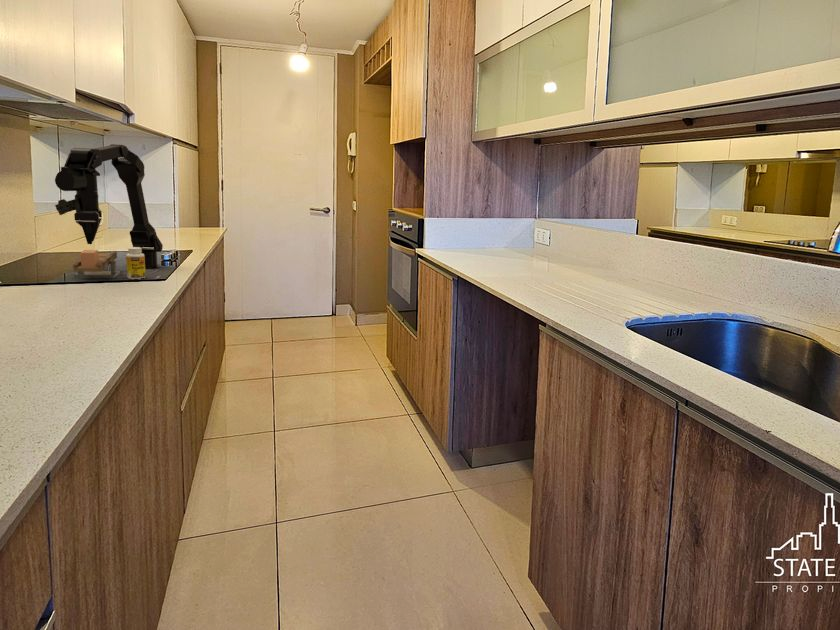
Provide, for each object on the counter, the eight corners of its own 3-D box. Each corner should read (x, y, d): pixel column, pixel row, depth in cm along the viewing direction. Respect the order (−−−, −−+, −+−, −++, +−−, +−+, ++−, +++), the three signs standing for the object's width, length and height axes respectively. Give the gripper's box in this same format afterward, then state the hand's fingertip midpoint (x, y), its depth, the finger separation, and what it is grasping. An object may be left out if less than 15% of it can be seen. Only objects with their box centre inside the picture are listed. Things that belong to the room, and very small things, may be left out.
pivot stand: (81, 273, 200) (79, 259, 199) (119, 273, 203) (118, 259, 202) (74, 277, 192) (72, 262, 191) (114, 277, 195) (113, 262, 194)
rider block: (86, 263, 192) (84, 249, 190) (99, 263, 193) (98, 249, 191) (81, 266, 187) (80, 252, 186) (95, 266, 188) (94, 253, 187)
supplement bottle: (130, 280, 192) (128, 249, 190) (125, 277, 196) (122, 247, 194) (148, 279, 196) (146, 248, 194) (142, 276, 200) (140, 246, 198)
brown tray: (92, 256, 206) (91, 250, 205) (117, 257, 208) (116, 250, 207) (73, 271, 186) (72, 264, 185) (101, 271, 188) (100, 264, 187)
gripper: (59, 189, 183) (63, 239, 186) (52, 190, 167) (56, 245, 170) (100, 190, 188) (103, 239, 191) (96, 192, 171) (100, 245, 175)
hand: (90, 242), depth 182 cm, fingers open, 9 cm apart
